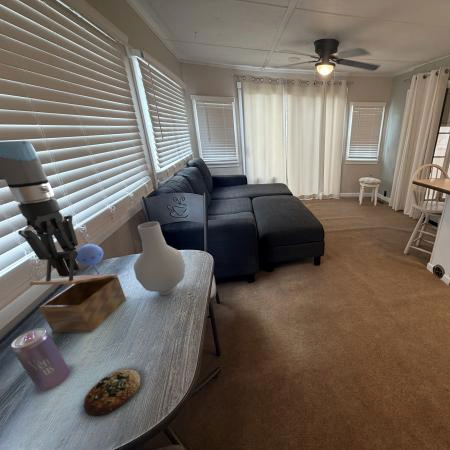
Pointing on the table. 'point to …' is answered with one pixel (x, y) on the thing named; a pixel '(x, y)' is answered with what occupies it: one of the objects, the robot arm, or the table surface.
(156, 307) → the table surface
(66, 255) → the chest lid
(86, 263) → the baby rattle
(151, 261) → the vase
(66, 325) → the chest
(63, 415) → the table surface
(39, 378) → the beverage can
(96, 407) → the bread roll
